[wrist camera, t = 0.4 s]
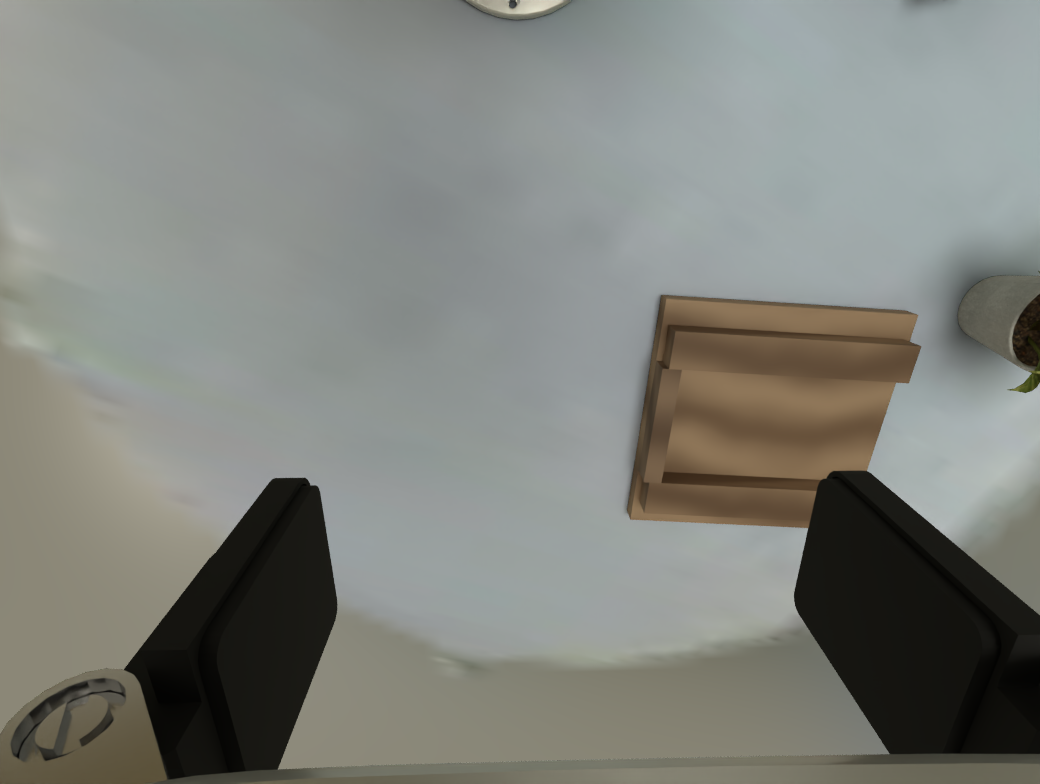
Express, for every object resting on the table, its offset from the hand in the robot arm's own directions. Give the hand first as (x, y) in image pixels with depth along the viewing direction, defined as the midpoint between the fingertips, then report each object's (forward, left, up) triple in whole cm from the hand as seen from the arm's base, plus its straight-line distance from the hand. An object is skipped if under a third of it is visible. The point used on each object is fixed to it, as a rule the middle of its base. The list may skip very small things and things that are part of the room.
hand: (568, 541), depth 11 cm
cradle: (+12, +21, -35) cm, 43 cm away
